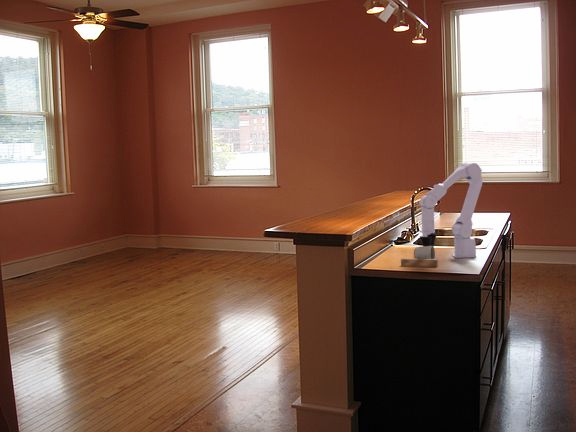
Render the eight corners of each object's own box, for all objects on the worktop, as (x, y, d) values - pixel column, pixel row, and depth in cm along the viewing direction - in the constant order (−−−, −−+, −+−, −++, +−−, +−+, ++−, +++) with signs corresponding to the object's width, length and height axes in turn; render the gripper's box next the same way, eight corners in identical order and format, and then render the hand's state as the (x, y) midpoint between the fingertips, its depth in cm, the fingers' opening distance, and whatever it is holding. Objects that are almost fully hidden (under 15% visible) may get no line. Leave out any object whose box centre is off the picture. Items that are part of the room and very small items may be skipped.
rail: (401, 265, 290) (400, 259, 289) (402, 264, 291) (402, 258, 291) (436, 266, 283) (436, 260, 282) (437, 266, 284) (437, 259, 284)
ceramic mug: (418, 260, 300) (417, 244, 300) (435, 261, 297) (435, 244, 296) (411, 265, 291) (410, 248, 290) (429, 265, 287) (428, 248, 286)
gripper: (423, 219, 310) (424, 247, 311) (415, 223, 297) (416, 252, 298) (438, 219, 307) (438, 248, 308) (430, 223, 294) (431, 252, 295)
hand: (428, 250), depth 303 cm, fingers open, 7 cm apart
